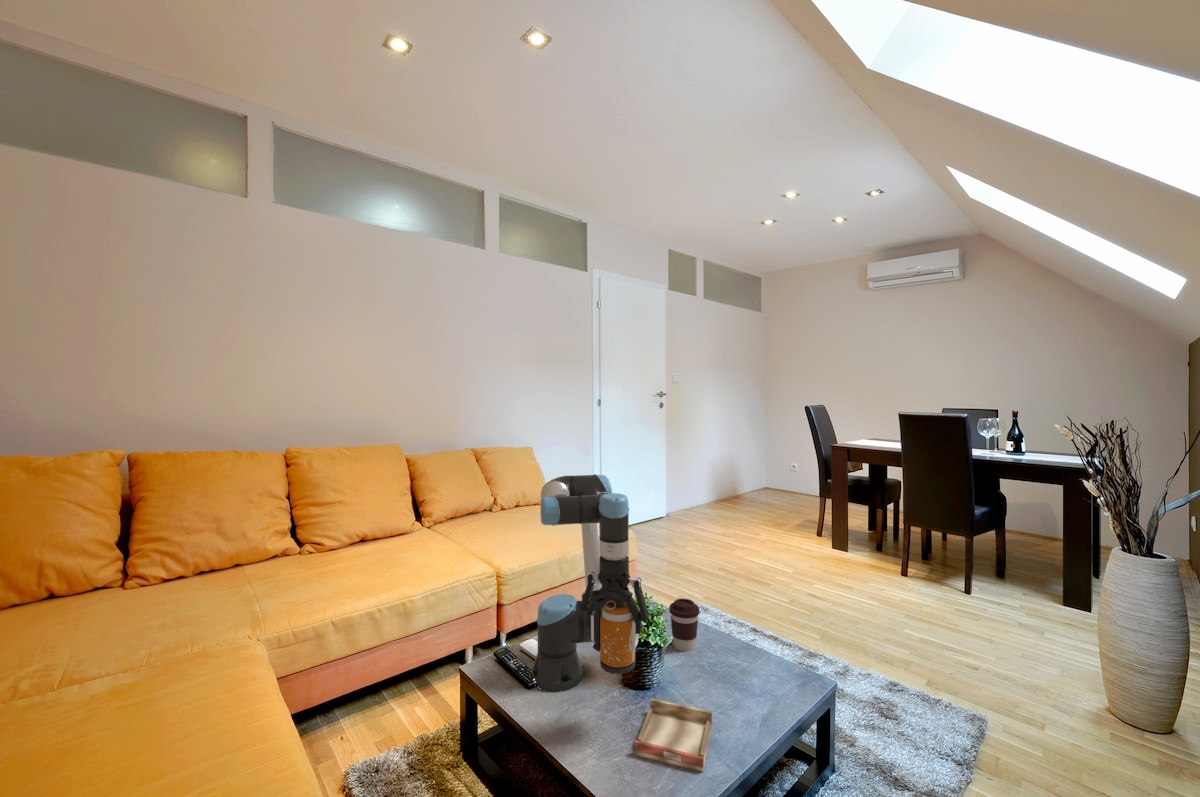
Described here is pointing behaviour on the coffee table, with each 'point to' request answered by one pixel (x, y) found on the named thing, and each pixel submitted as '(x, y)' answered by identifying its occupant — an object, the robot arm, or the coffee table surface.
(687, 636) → the coffee cup
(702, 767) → the wooden serving tray
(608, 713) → the coffee table surface
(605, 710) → the coffee table surface
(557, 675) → the robot arm
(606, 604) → the canister
